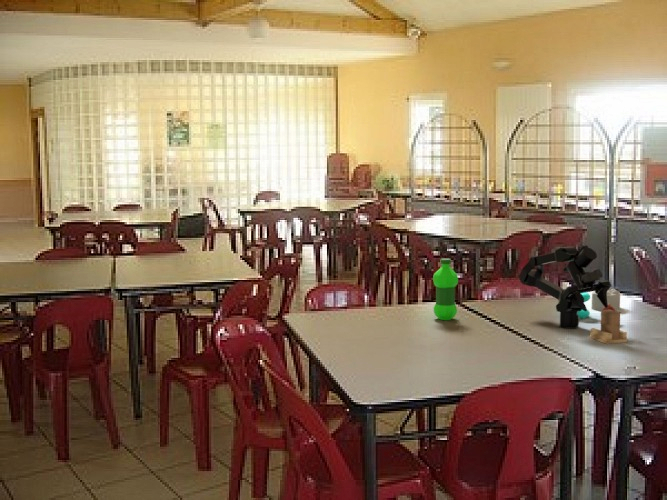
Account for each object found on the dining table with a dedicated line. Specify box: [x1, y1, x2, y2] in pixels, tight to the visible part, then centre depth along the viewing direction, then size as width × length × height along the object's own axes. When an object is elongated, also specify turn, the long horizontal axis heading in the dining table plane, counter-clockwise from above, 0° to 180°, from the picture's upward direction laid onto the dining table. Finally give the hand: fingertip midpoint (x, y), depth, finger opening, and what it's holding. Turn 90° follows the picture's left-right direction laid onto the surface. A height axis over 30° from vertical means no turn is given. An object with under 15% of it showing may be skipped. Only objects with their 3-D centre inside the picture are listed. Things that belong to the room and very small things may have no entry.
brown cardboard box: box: [600, 309, 621, 340], centre depth 289 cm, size 6×4×10 cm, turn 20°
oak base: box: [588, 327, 629, 345], centre depth 291 cm, size 10×9×4 cm
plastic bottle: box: [432, 257, 459, 321], centre depth 327 cm, size 10×10×25 cm
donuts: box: [577, 292, 591, 319], centre depth 331 cm, size 10×10×10 cm
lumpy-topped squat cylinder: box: [591, 288, 621, 312], centre depth 347 cm, size 10×13×9 cm
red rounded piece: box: [602, 304, 615, 311], centre depth 318 cm, size 6×6×8 cm
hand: (596, 309), depth 298 cm, fingers open, 9 cm apart
